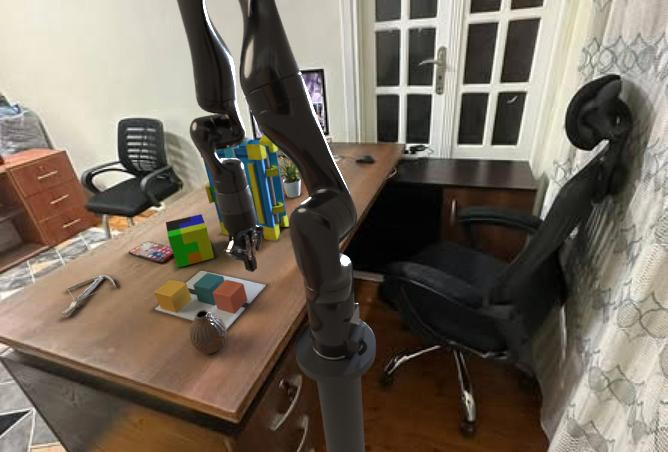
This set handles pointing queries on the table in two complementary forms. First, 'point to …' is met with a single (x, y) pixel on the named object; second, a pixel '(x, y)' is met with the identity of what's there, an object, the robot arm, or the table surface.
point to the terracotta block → (230, 296)
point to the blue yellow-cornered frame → (258, 184)
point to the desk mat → (228, 318)
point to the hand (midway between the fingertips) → (252, 269)
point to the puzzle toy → (189, 240)
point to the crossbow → (85, 293)
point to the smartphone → (152, 252)
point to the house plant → (290, 179)
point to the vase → (207, 332)
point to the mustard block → (173, 296)
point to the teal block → (207, 287)
